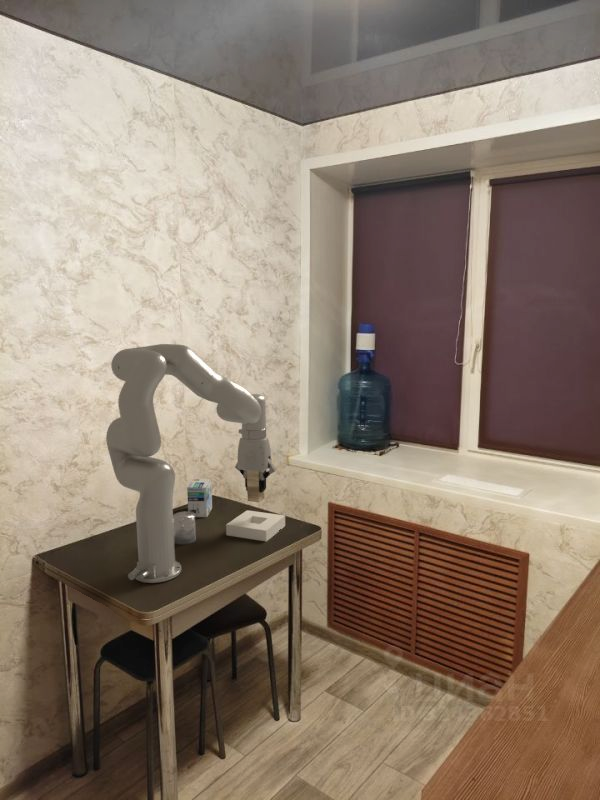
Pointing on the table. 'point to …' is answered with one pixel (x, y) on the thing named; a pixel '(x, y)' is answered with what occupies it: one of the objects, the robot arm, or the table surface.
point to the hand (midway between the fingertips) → (255, 489)
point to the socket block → (255, 525)
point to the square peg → (254, 487)
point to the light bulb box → (200, 497)
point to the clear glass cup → (184, 527)
